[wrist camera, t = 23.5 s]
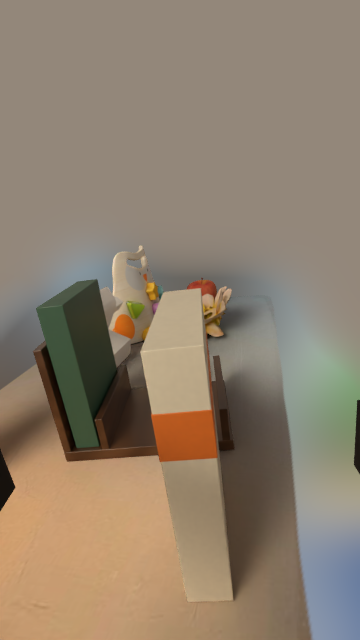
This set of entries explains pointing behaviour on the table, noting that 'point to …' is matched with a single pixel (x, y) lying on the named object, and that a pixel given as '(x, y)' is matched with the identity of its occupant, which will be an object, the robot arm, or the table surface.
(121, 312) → the shape sorter
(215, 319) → the decorative flower
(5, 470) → the robot arm
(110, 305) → the white angular piece
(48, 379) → the book rack
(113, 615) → the table surface
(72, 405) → the green book
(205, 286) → the apple
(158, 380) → the book
